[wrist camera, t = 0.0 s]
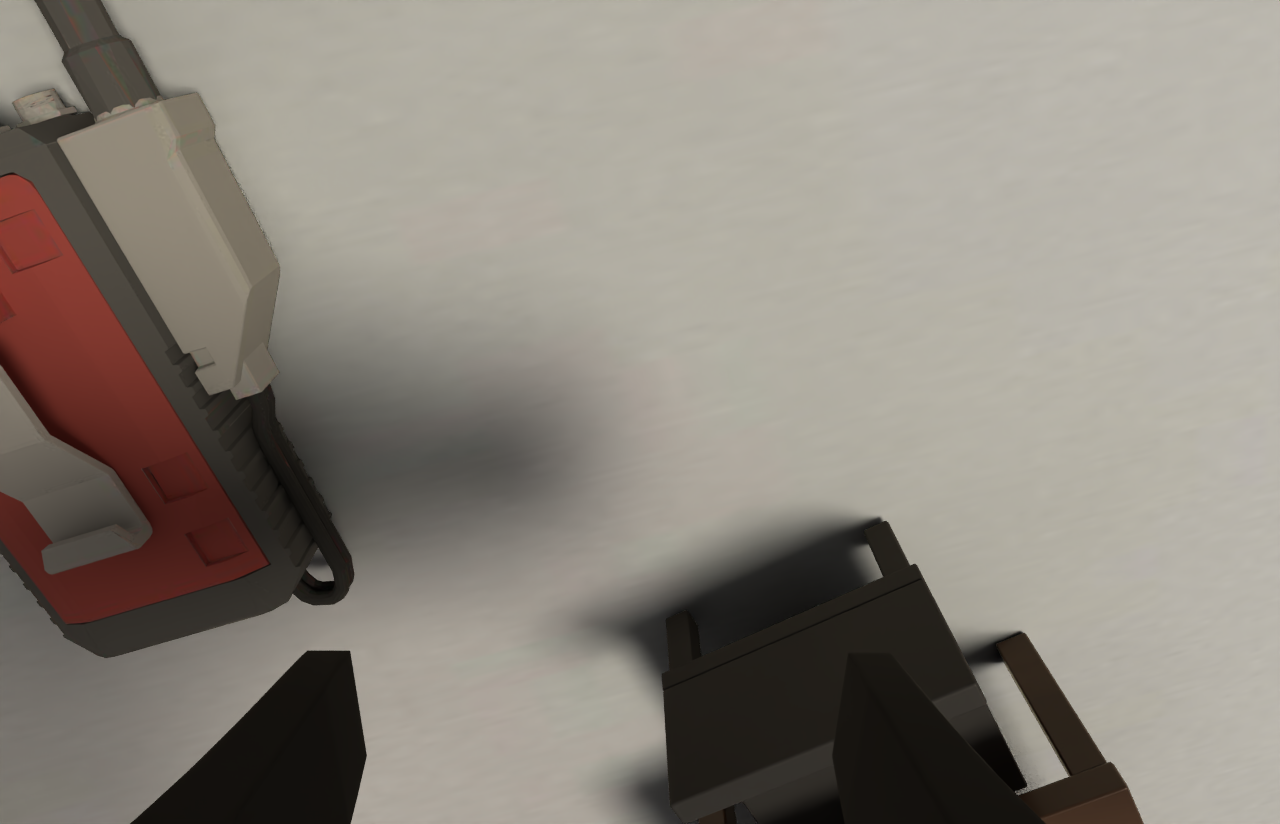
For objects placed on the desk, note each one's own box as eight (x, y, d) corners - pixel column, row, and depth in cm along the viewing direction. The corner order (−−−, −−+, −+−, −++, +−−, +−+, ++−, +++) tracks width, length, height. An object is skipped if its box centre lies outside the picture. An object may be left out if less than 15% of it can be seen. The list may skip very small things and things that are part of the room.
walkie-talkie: (439, 541, 23) (-27, -374, 15) (401, 653, 19) (-261, -507, 11) (151, 624, 24) (-434, -188, 16) (58, 747, 20) (-782, -249, 12)
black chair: (657, 617, 24) (668, 807, 19) (889, 512, 23) (978, 682, 17) (777, 792, 28) (818, 1001, 22) (988, 709, 26) (1091, 909, 20)
